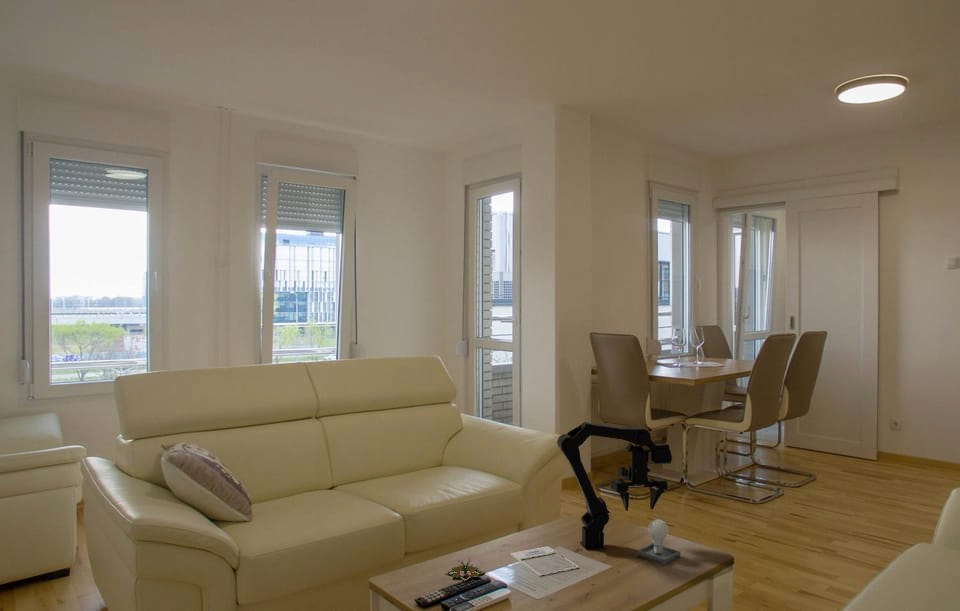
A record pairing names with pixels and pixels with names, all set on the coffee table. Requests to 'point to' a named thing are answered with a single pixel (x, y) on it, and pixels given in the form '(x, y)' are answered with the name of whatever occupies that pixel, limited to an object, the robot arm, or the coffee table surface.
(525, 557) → the photo frame
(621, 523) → the coffee table surface
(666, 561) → the dish
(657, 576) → the coffee table surface
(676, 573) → the coffee table surface
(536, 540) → the coffee table surface
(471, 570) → the flower arrangement
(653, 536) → the lightbulb
